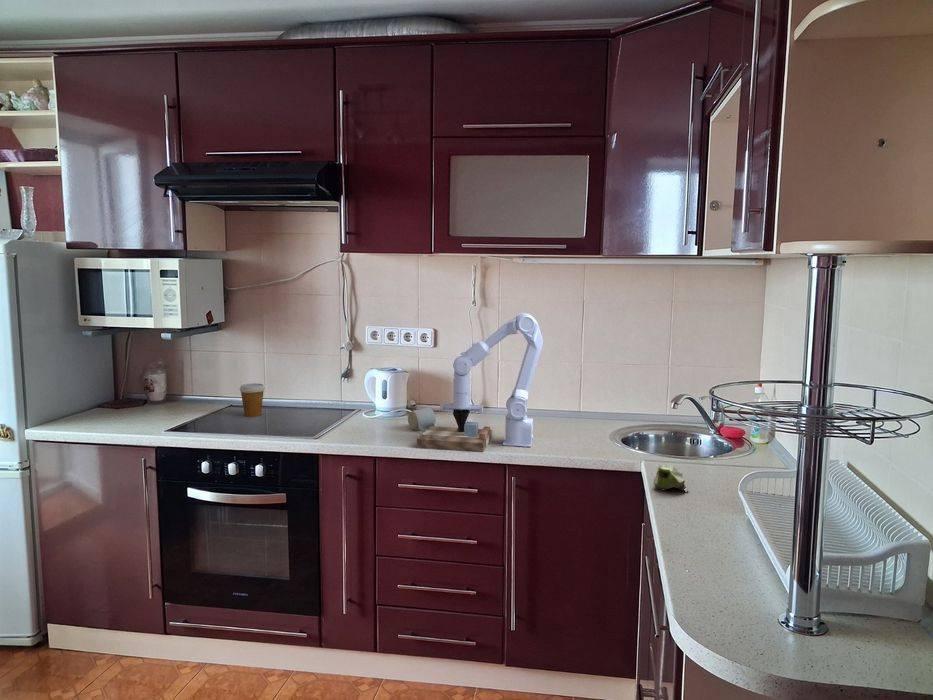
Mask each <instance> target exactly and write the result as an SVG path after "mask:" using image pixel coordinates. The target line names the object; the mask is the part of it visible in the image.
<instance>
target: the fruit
mask: <svg viewBox="0 0 933 700" xmlns="http://www.w3.org/2000/svg"><path fill="white" fill-rule="evenodd" d="M656 469H657V471H656V474H655V477H653V482H652V483H653V486H655V487H656V489H659V488H660V490H661V489H664V490H663V491H665V490H669V489H671V488H676V489H679V490H681V491H683V490H684V489H685V488H687V487H686V485H685V482H686V480H685V478H684V476H683V474H684V472H683V471H682V472H681V471H679V470H678V468H677V467H676V466H675V465H674V464H660V465H658V466H657V468H656Z"/></svg>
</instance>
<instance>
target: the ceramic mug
mask: <svg viewBox="0 0 933 700" xmlns="http://www.w3.org/2000/svg"><path fill="white" fill-rule="evenodd" d="M407 422H408V426H409V427H410V429H412V430H413V431H421V432H422V433H424V432H425V431H426V430H427V429H428V428H429V427H430V426H436V422H437V421H436V415H435V412H434V410H433V409H432V408H431V407H430V406H428V407H424V408H419V409H415V410H412V411H410V412H409V413H408V415H407Z"/></svg>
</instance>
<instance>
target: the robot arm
mask: <svg viewBox="0 0 933 700" xmlns="http://www.w3.org/2000/svg"><path fill="white" fill-rule="evenodd" d="M518 332H520V333H521V334H522V336H523V337H524V339H525V340H526V342H527V344H526V345H527V346H526V348H525V352H524V355H523V359H522V363H521V364H520V365H521V366H520V369H519V372H518V376H517V379H516V382H515V386H514V388H513V390H512V393H511V395H510V397H508V398H507V400H506V403H505V406H506V409H507V411H508V412H507V414H506V415H505V434H504V435H505V436H504V437H505V438H504V440H503V443H502V446H510V447H527V448H530V447H532V446H533V442H534V419H533V418H532V417H531V418H530V417H528V415H527V414H528V406H527V404H528V399H529V391H530V388H531V385H532V383H533V378H534V374H535V372H536V368H537V364H538V362H539V358H540V354H541V351H542V348H543V344H544V338H543V336H542V333H541V329H540V325H539V323H538V322H537V320H536V319H535V317H534V316H532V315H531V314H529V313H528V312H527V313H526V312H520V313H518V314H517V315H516V316H515V317H512V318H510V319H509V320H508V321H506V322H505V323H503V325H501V326H500V327H499V328H498V329H497V330H496V331H494V332H493V333H492V334H491V335H490V336H489V337H487V338H486V339H485V340H484V341H482V340H481V341H480V340H478V341H477V342H475V341H474V342H472V343H471V345H472V346H470V347H469V348H468V349H467V350H466V351H461V353H460V356H457V357H456V358H455V359H454V360H453V364H452V368H453V370H454V371H453V378H452V379H453V383H452V384H453V386H452V387H453V388H452V391H453V392H452V402H451V403H448V402H447V403H440V404H439V410H440V411H453V412H452V415H453V417H454V419H455V422H456V424H457V425H456V426H457V428H458V429H459V432H461V433H463V431H464V424H465V423H466V422H467V420H468V418H469V415H470V413H471V412H473V413H474V412H475V413H477V412H479V413H483V412H484V405H479V404H472V403H471V378H470V376H471V374H470V373H471V370H472V367H476V366H477V365H478V364H479V363H480V362H482V361H483V360H484V359H485V358H487V357H488V356H489V355H490V350H491V349H492V348H493V347H494V346H495V345H497V344H498V343H500V342H501V341H502V340H504V339H505V338H506V337H508V336H510V335H511V336H512V335H518V334H519V333H518Z"/></svg>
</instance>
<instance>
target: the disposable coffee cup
mask: <svg viewBox="0 0 933 700" xmlns="http://www.w3.org/2000/svg"><path fill="white" fill-rule="evenodd" d="M265 388H266V387H265V385H264V384H263V383H256V382H255V383H252V382H251V383H245V384H241V385H240V388H239V391H240V394H241V402H242V407H243V412H244V413H243V414H244V416H245V417H249V418H253V417H259V416H261V415H262V411H263V400H264V391H265Z"/></svg>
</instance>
